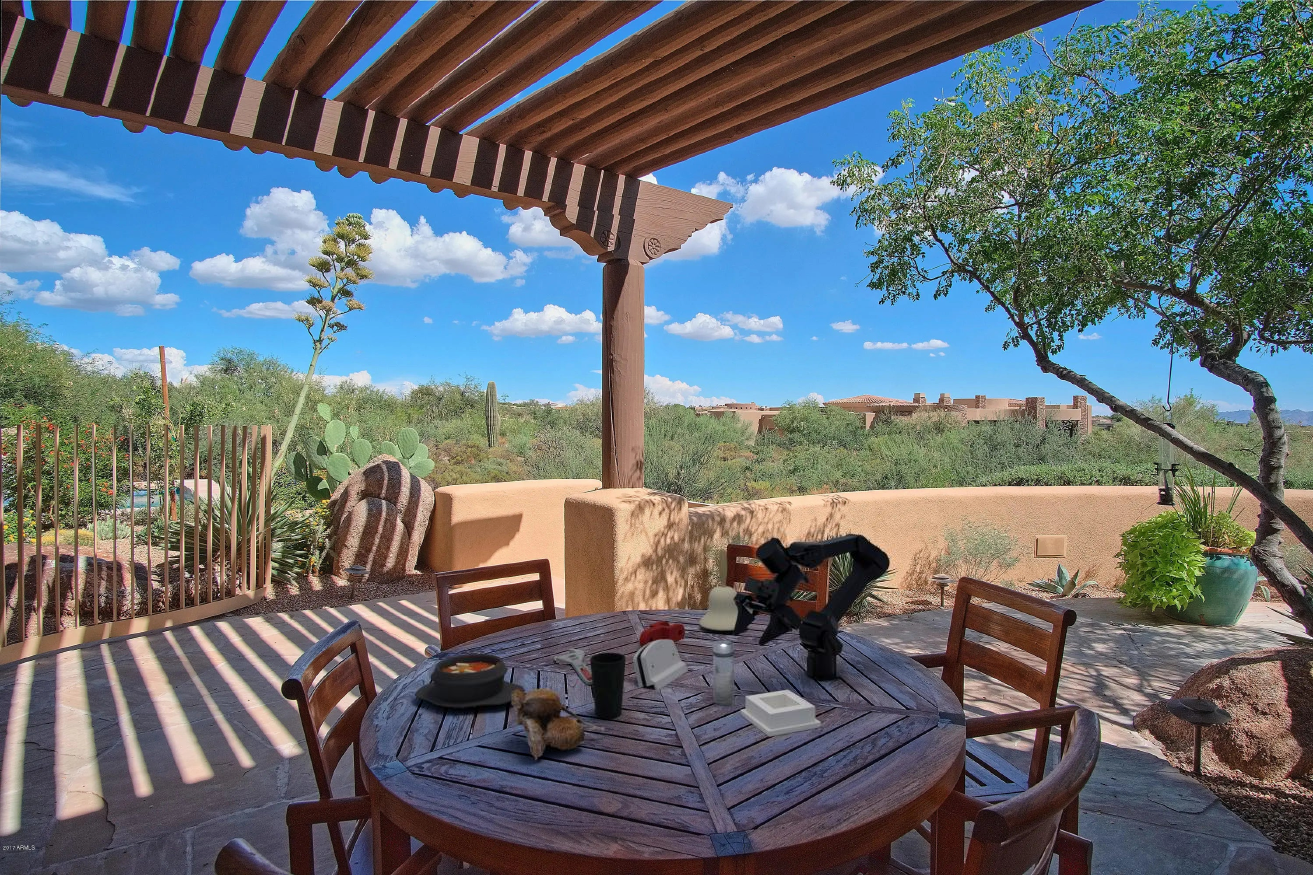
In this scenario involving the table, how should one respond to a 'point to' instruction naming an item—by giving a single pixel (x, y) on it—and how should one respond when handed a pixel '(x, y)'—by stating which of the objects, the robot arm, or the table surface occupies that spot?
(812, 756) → the table surface
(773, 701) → the white square hollow block
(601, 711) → the cup
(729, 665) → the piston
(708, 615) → the handbell
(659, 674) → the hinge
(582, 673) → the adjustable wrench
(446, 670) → the casserole
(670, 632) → the mechanical linkage
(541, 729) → the seed pod
